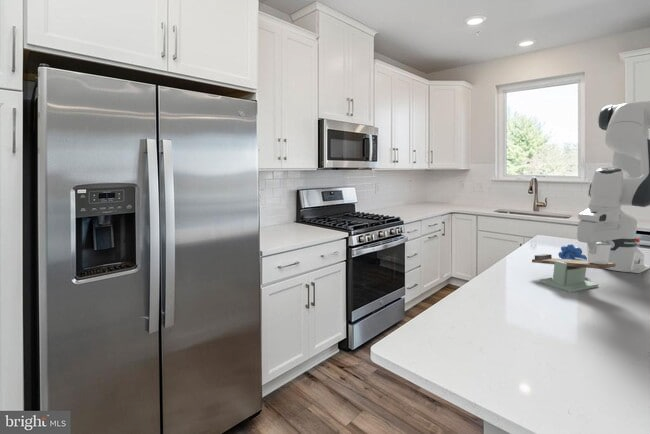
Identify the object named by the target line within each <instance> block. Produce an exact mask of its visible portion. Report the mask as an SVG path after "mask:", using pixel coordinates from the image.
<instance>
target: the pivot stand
mask: <svg viewBox="0 0 650 434" xmlns="http://www.w3.org/2000/svg"><path fill="white" fill-rule="evenodd" d="M575 260H582V261H588V259H587V260H584V259H580V258H575ZM553 267H554V268H553V274H552V277H547V278H542V279H539V283H542V284H544V285H546V286H550V287H553V288H556V289H559V290H562V291H565V292H567V293H568V292H569V293H574V292H575V293H576V292H579V291H584V290H587V289H595V288H598V287H599V283H595V282H592V281H589V280H586V272H587V268H585V267H575V266H571V267H567V263H564V262H560V261H555V264H553Z"/></svg>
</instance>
